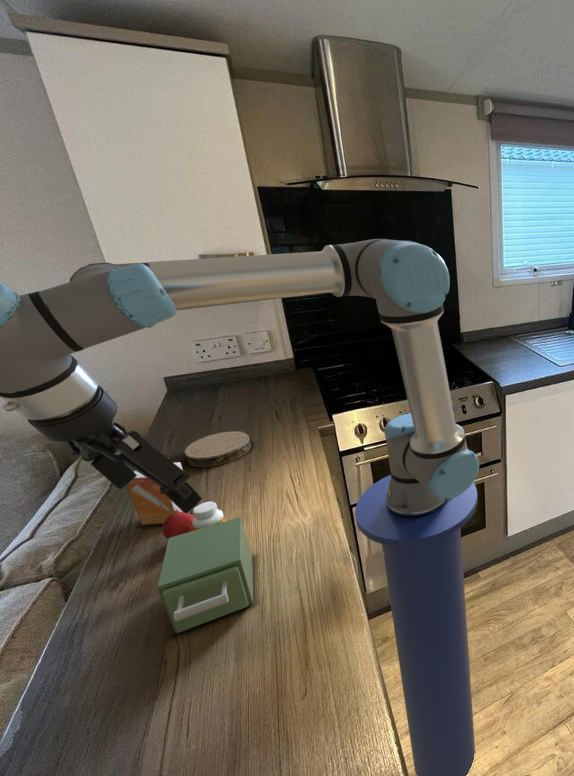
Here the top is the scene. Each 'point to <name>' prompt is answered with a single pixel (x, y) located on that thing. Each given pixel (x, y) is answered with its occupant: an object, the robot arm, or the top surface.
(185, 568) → the cabinet
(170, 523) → the onion
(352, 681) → the top surface
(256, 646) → the top surface
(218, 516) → the supplement bottle
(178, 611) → the drawer
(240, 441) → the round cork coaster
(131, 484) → the small box
